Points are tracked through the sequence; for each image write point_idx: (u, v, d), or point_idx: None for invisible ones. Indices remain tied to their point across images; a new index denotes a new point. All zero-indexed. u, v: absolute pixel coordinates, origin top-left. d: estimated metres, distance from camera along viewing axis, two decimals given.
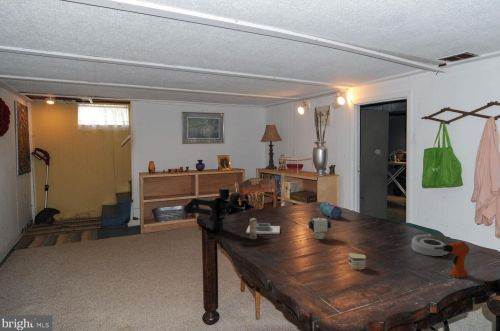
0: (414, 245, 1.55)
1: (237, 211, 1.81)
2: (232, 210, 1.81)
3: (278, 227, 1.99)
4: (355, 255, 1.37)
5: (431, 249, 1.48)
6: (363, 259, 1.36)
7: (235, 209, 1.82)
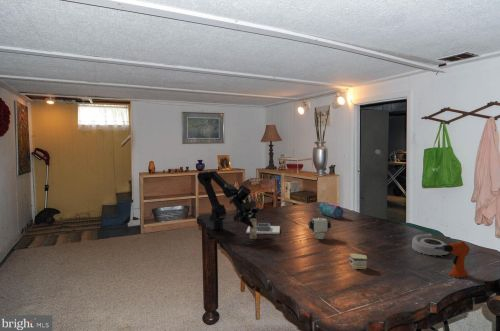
0: (415, 245, 1.55)
1: (246, 222, 1.79)
2: (242, 219, 1.79)
3: (278, 227, 1.99)
4: (356, 255, 1.37)
5: (432, 249, 1.49)
6: (364, 259, 1.36)
7: (246, 220, 1.79)
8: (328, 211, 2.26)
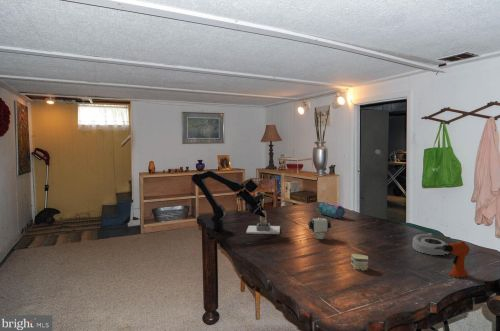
0: (415, 244, 1.56)
1: (259, 213, 1.90)
2: (256, 211, 1.89)
3: (278, 227, 1.99)
4: (358, 256, 1.37)
5: (432, 248, 1.49)
6: (366, 260, 1.35)
7: (258, 211, 1.90)
8: (329, 211, 2.26)
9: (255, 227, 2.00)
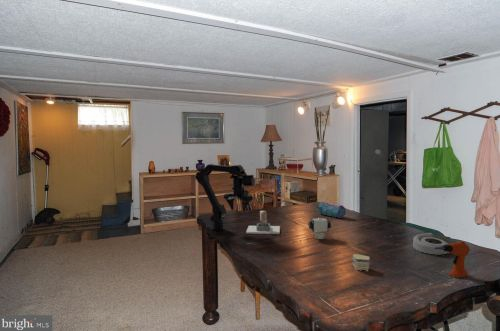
0: (416, 244, 1.56)
1: (244, 205, 1.89)
2: None
3: (278, 227, 1.99)
4: (359, 256, 1.36)
5: (433, 248, 1.50)
6: (367, 261, 1.34)
7: (245, 203, 1.89)
8: (331, 211, 2.26)
9: (255, 227, 2.00)
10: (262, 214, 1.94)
